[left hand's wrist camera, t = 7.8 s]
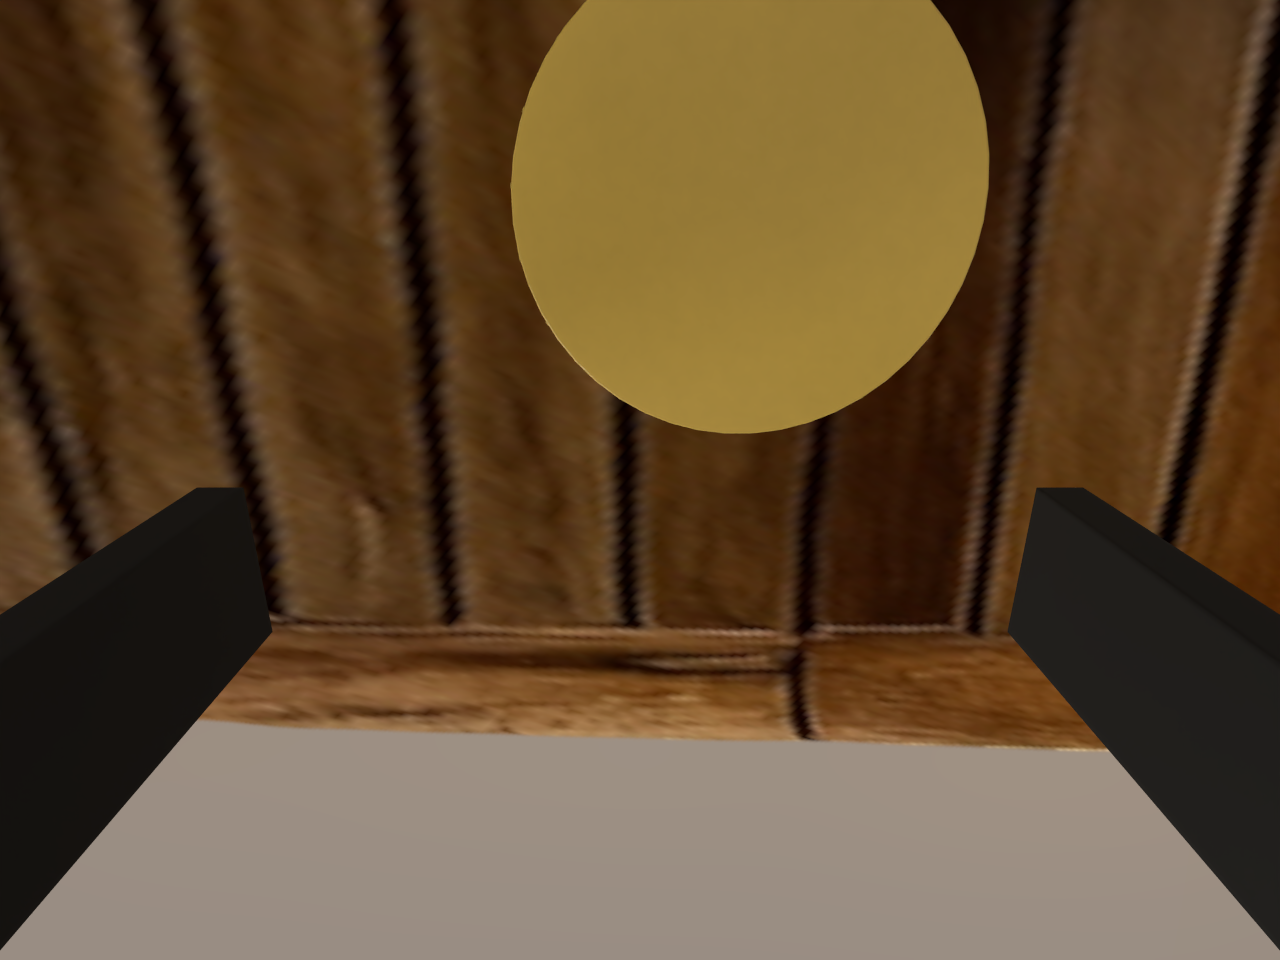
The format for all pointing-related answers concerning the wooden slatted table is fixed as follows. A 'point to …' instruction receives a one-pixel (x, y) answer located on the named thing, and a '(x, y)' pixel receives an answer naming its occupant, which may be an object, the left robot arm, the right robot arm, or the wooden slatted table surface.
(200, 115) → the wooden slatted table surface
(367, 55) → the wooden slatted table surface
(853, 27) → the lid
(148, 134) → the wooden slatted table surface
